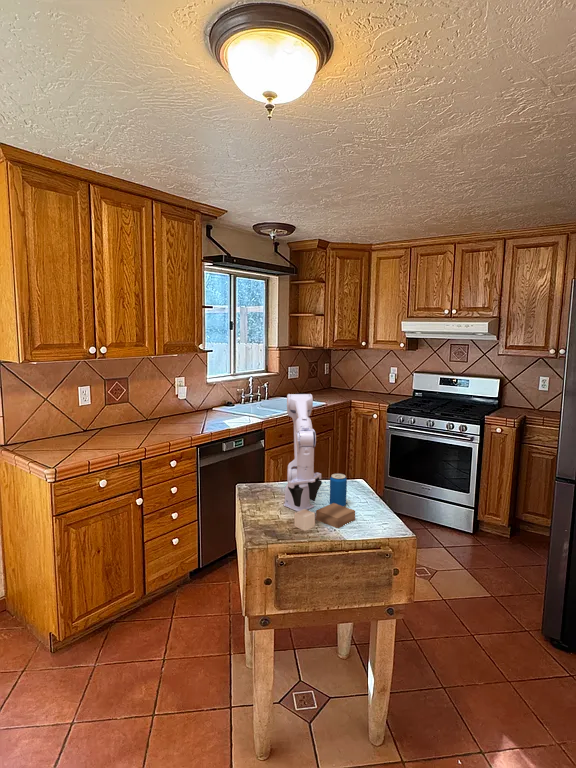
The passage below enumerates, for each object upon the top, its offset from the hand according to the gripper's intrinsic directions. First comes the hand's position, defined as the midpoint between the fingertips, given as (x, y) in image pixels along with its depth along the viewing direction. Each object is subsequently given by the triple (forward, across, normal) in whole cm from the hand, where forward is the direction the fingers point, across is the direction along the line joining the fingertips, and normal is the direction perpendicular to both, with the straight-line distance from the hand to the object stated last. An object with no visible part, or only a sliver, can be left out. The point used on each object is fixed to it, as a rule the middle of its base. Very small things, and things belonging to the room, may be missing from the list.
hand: (304, 503), depth 157 cm
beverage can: (+9, +23, +4) cm, 25 cm away
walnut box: (+9, +12, -4) cm, 15 cm away
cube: (+9, 0, 0) cm, 9 cm away
